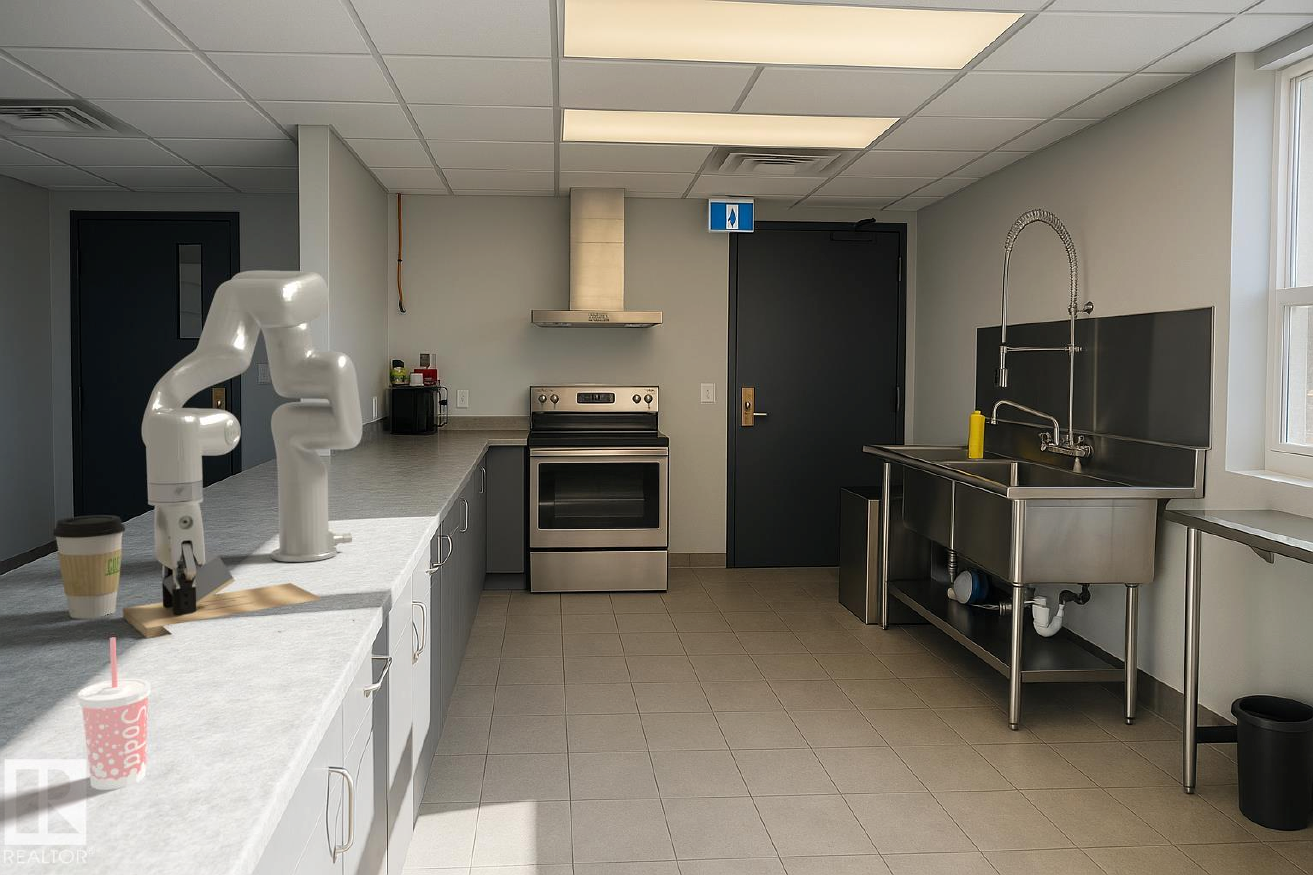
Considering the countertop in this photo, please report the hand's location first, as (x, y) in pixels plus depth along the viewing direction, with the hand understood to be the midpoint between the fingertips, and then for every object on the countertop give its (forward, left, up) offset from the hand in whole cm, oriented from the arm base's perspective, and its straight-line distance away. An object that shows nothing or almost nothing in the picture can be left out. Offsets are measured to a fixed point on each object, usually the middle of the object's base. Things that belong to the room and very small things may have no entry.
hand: (179, 608), depth 145 cm
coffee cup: (+9, -13, -2) cm, 16 cm away
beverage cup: (+20, +55, -2) cm, 59 cm away
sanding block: (-4, 0, +2) cm, 4 cm away
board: (-7, 0, -2) cm, 7 cm away
